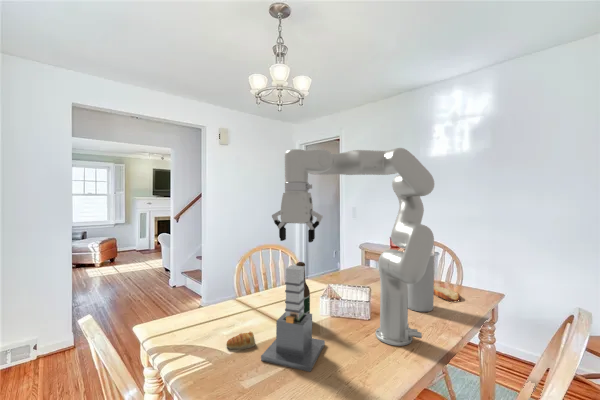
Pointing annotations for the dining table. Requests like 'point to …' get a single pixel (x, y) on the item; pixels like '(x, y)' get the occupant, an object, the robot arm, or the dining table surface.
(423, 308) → the cylinder vase
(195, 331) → the dining table surface
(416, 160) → the robot arm
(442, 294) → the slice of bread
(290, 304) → the column
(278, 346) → the stand
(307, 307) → the beer bottle
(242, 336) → the pastry
